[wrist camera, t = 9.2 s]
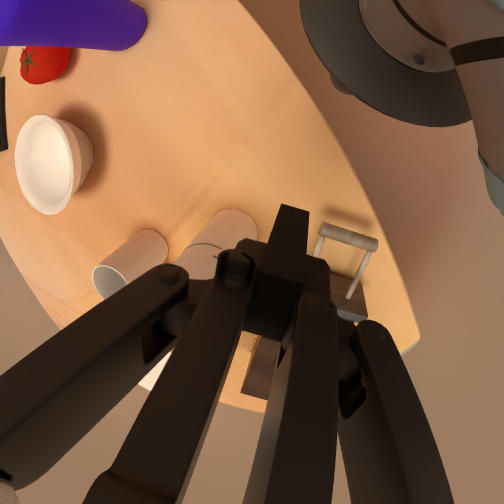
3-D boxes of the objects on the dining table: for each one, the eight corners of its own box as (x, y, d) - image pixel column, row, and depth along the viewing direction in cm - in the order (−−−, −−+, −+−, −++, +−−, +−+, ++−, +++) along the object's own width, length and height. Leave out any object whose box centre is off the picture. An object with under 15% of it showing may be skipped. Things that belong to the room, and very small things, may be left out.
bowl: (51, 105, 36) (15, 112, 29) (115, 111, 36) (76, 117, 28) (48, 186, 45) (16, 202, 37) (106, 206, 44) (73, 227, 36)
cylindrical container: (237, 263, 44) (170, 405, 22) (200, 233, 42) (102, 357, 21) (268, 231, 40) (211, 379, 19) (227, 198, 39) (125, 318, 17)
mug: (128, 242, 46) (85, 280, 36) (148, 219, 43) (103, 255, 33) (168, 284, 48) (135, 330, 38) (192, 264, 45) (158, 312, 35)
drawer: (305, 202, 36) (302, 226, 30) (386, 229, 35) (400, 257, 29) (264, 327, 47) (255, 362, 41) (328, 344, 47) (327, 380, 40)
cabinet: (271, 294, 45) (260, 337, 37) (346, 315, 44) (349, 359, 36) (251, 352, 52) (240, 392, 44) (315, 369, 51) (311, 410, 43)
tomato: (56, 29, 29) (22, 27, 22) (88, 39, 30) (51, 35, 23) (39, 75, 34) (5, 79, 27) (68, 89, 35) (31, 94, 28)
